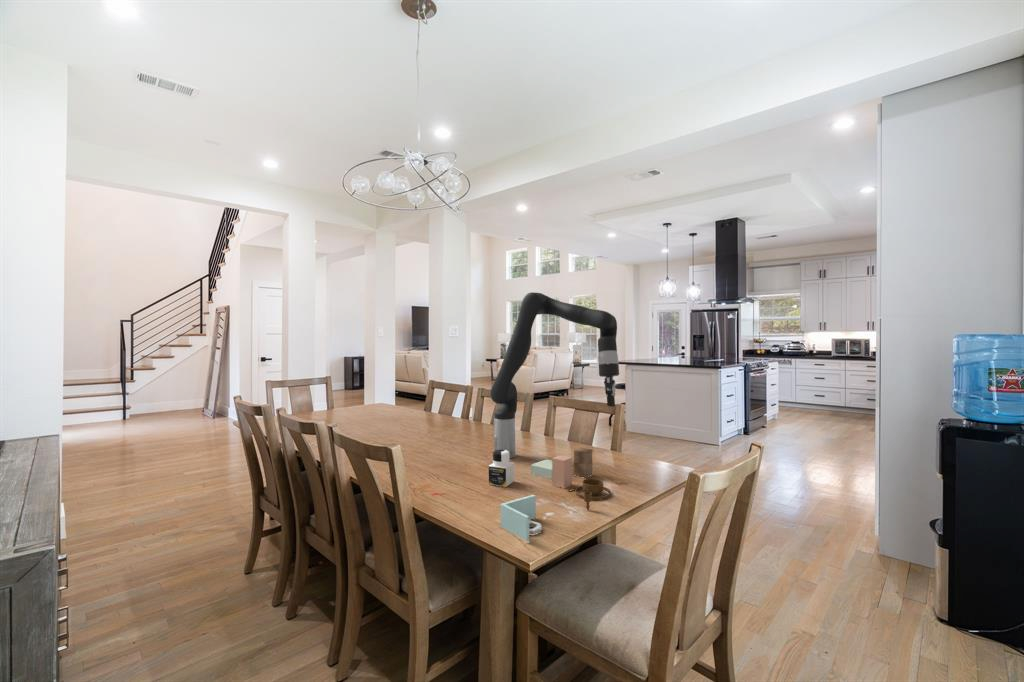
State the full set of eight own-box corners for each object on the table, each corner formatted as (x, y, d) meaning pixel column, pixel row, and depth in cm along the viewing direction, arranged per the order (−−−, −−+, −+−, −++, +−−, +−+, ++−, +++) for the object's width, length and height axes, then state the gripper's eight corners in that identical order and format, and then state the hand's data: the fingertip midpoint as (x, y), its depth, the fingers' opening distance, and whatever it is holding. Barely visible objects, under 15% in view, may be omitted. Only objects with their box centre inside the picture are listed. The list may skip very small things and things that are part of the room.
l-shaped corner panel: (526, 545, 123) (526, 517, 122) (500, 530, 132) (500, 504, 132) (560, 533, 130) (560, 506, 129) (533, 519, 139) (533, 494, 139)
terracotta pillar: (552, 485, 167) (552, 458, 167) (560, 482, 171) (560, 455, 171) (564, 488, 164) (563, 460, 164) (571, 485, 168) (571, 457, 168)
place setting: (625, 497, 156) (625, 480, 156) (590, 515, 142) (590, 495, 142) (582, 485, 169) (582, 469, 168) (546, 500, 154) (546, 483, 154)
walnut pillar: (574, 476, 178) (573, 450, 178) (581, 472, 182) (581, 447, 182) (585, 478, 175) (585, 452, 175) (592, 475, 179) (592, 449, 178)
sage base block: (530, 475, 181) (530, 464, 181) (546, 469, 189) (546, 459, 189) (551, 480, 175) (551, 469, 175) (566, 473, 182) (566, 463, 182)
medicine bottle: (488, 484, 169) (487, 452, 169) (497, 479, 176) (496, 447, 176) (506, 487, 166) (505, 454, 166) (514, 481, 173) (514, 449, 172)
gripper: (600, 366, 186) (602, 407, 183) (596, 362, 172) (599, 406, 169) (619, 365, 184) (622, 406, 181) (617, 360, 170) (620, 405, 167)
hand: (611, 406), depth 175 cm, fingers open, 8 cm apart
